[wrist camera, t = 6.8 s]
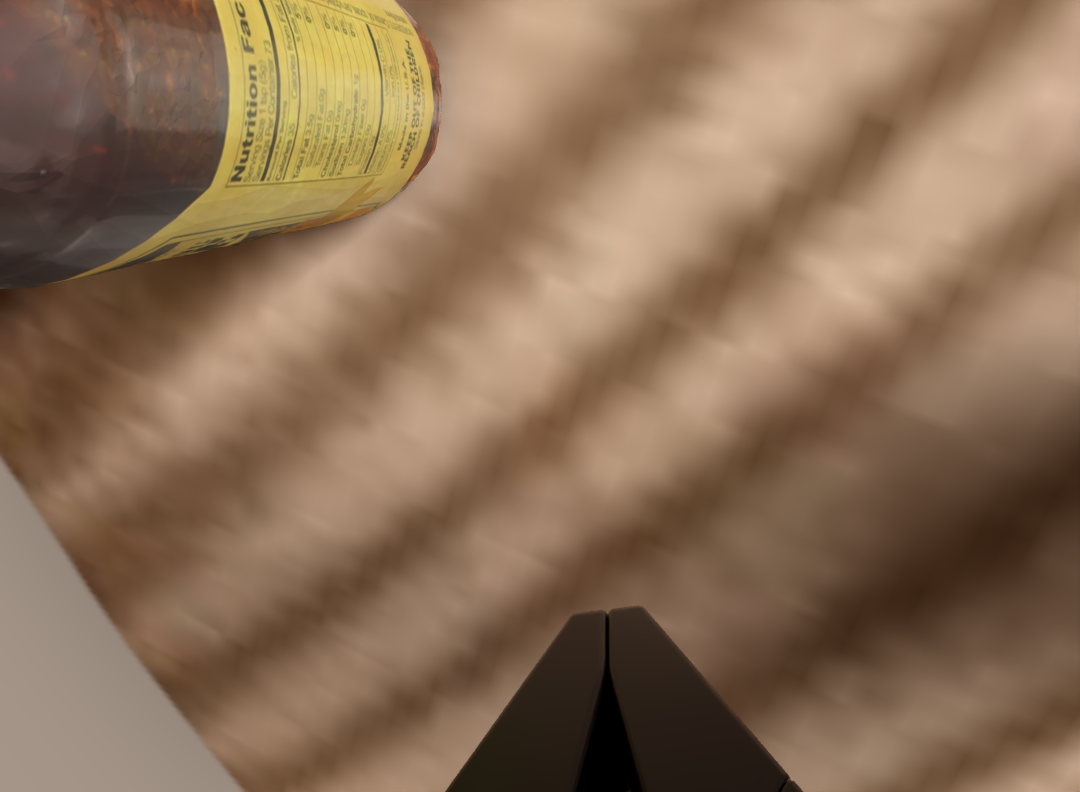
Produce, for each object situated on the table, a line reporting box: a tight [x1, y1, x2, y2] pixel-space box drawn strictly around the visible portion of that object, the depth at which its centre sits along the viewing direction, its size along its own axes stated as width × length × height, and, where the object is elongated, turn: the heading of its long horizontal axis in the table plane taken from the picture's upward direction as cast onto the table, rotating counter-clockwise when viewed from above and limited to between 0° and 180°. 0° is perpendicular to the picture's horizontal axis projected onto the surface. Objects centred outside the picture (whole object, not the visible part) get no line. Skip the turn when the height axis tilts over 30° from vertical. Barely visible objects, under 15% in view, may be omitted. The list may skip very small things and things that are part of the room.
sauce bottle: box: [0, 0, 442, 289], centre depth 12 cm, size 6×6×20 cm
